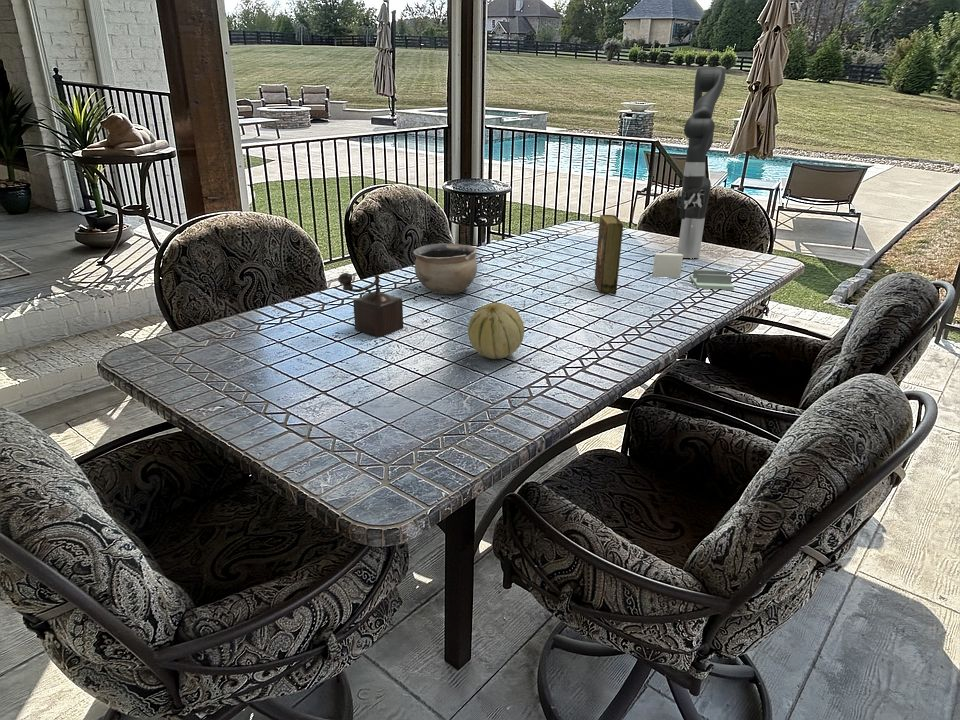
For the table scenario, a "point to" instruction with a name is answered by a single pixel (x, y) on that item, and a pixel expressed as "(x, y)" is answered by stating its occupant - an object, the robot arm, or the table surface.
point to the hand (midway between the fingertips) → (689, 218)
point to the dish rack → (711, 279)
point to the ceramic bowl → (445, 267)
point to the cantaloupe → (496, 330)
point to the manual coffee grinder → (375, 309)
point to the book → (608, 254)
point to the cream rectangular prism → (667, 265)
